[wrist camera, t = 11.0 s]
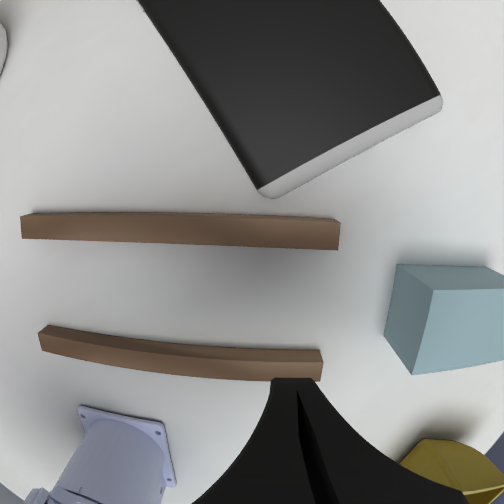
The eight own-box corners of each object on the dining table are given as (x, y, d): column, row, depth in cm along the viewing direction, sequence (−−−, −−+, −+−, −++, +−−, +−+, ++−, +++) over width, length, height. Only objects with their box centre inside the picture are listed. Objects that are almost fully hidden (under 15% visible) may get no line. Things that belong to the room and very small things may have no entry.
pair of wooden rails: (316, 368, 20) (320, 381, 19) (51, 341, 20) (42, 350, 19) (334, 218, 18) (340, 222, 16) (33, 213, 18) (20, 216, 17)
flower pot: (475, 426, 22) (513, 483, 13) (424, 481, 24) (449, 537, 15) (420, 420, 21) (460, 493, 13) (365, 479, 23) (385, 549, 15)
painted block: (470, 329, 19) (506, 359, 15) (382, 334, 20) (411, 375, 15) (485, 266, 18) (528, 287, 13) (395, 263, 18) (433, 290, 14)
